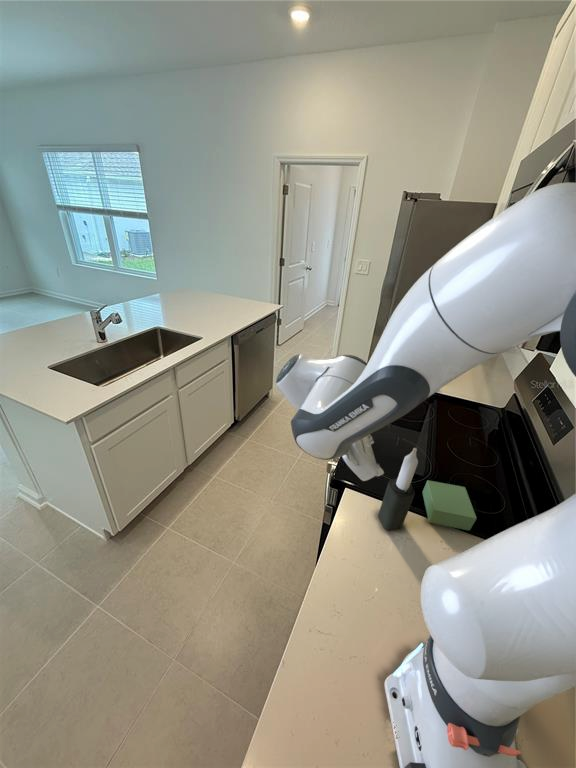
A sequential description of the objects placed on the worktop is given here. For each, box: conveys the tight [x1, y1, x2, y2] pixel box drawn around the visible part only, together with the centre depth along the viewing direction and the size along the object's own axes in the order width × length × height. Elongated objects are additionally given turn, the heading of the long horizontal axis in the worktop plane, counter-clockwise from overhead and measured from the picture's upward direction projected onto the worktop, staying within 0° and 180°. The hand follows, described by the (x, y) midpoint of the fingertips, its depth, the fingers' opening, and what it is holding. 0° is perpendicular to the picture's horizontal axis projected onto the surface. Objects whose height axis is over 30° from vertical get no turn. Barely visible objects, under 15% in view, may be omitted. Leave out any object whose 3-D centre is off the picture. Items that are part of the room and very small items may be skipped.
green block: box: [421, 479, 477, 532], centre depth 82 cm, size 10×10×5 cm
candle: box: [377, 447, 419, 532], centre depth 73 cm, size 5×5×25 cm
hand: (375, 456), depth 68 cm, fingers open, 8 cm apart
